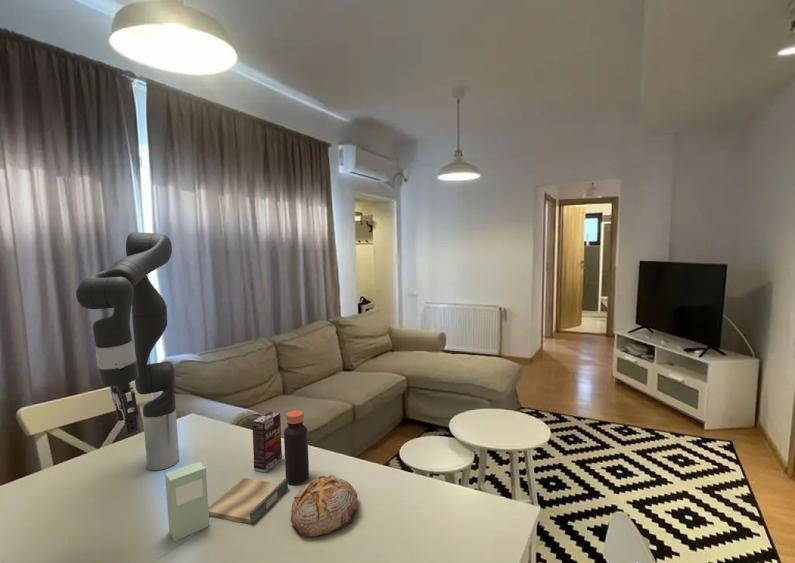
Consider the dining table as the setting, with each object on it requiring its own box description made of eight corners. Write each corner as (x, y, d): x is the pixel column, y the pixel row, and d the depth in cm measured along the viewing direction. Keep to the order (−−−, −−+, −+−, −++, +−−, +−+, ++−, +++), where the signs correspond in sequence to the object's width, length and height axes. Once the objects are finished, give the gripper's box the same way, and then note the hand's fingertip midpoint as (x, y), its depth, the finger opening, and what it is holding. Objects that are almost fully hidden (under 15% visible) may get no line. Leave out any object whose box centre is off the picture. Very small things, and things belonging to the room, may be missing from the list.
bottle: (298, 471, 129) (296, 407, 128) (314, 477, 125) (311, 412, 124) (281, 480, 124) (278, 415, 122) (296, 487, 120) (293, 419, 118)
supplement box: (266, 473, 128) (263, 423, 127) (253, 470, 130) (250, 421, 129) (283, 459, 136) (281, 412, 135) (271, 457, 138) (268, 411, 137)
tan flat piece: (204, 514, 108) (203, 503, 108) (244, 481, 124) (243, 472, 123) (253, 524, 104) (253, 513, 104) (288, 489, 119) (288, 479, 119)
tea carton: (169, 532, 102) (164, 473, 101) (203, 517, 107) (199, 461, 106) (174, 541, 99) (170, 480, 98) (209, 525, 104) (205, 467, 103)
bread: (278, 539, 100) (273, 499, 99) (314, 492, 119) (310, 458, 118) (341, 546, 96) (337, 504, 95) (368, 496, 115) (365, 461, 114)
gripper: (92, 359, 100) (103, 421, 103) (104, 374, 90) (116, 443, 93) (128, 350, 105) (137, 410, 108) (143, 364, 95) (153, 429, 98)
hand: (127, 425), depth 100 cm, fingers open, 8 cm apart
